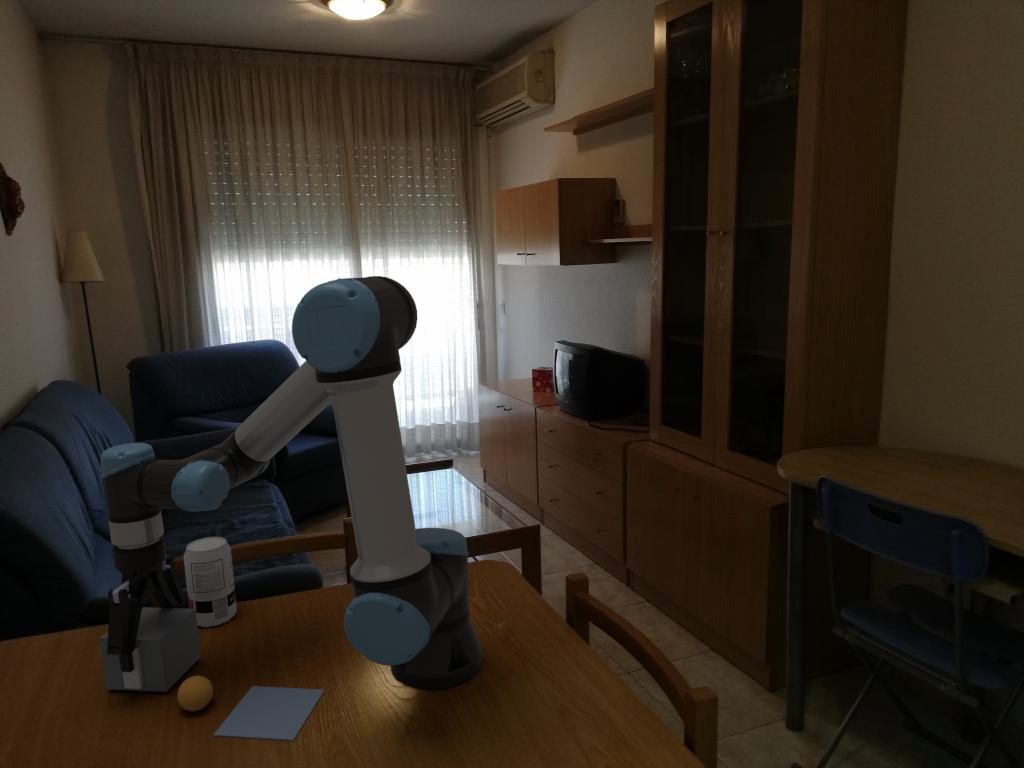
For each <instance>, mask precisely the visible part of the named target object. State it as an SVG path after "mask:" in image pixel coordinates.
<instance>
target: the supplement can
mask: <svg viewBox="0 0 1024 768" xmlns="http://www.w3.org/2000/svg"><path fill="white" fill-rule="evenodd" d="M183 563H184V565H183V566H184V574H185V584H186V593H187V601H188V609H195V610H196V618H197V627H199V626H201V627H200V628H213V627H212V626H214V627H218V626H221V625H223V624H222V623H224V624H226V623H227V621H228V622H229V621H231V620H232V619H233V618H234V616H235V615H236V614H237V611H238V607H237V597H236V596H237V595H236V587H235V578H234V567H233V556H232V547H231V546H230V545H229V543H228V541H227V540H226V538H224V537H222V536H207V537H203V538H199V539H195V540H193V541H191V542H188V544H186V547H185V551H184V554H183ZM232 617H233V618H232ZM231 618H232V619H231ZM230 619H231V620H230ZM225 622H226V623H225ZM220 624H221V625H220ZM217 625H218V626H217ZM210 626H211V627H210Z"/></svg>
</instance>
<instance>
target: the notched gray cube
mask: <svg viewBox="0 0 1024 768" xmlns="http://www.w3.org/2000/svg"><path fill="white" fill-rule="evenodd" d="M198 627H199V626H197V618H196V610H195V609H189V608H161V607H148V606H147V607H146V606H144V607H143V608H142V612H141V617H140V622H139V627H138V632H137V637H136V642H135V647H134V648H139V656H140V663H141V671H142V678H143V685H144V686H143V687H142V688H141V689H132V688H125V686H124V679H123V672H122V671H121V668H120V667H121V666H120V661H119V655H108V654H107V640H108V631H107V632H105V633H104V634H103V635H101V636H100V637H99V640H98V641H99V647H100V655H101V658H102V659H101V660H102V661H101V662H102V667H103V675H104V681H105V687H106V688H105V689H106V690H115V691H116V690H117V691H140V692H163V693H164V692H165V693H167V692H168V691H169V690H170V689H171V688H172V687H173V686H174V685H175V684H176V683H177V682H178V681H179V679H181V677H182V676H183V675H185V674H186V672H187V671H189V670H190V669H191V668H192V667H193V666H194V664H195V663H197V661H199V659H200V658H201V657H202V652H201V644H200V636H199V629H198ZM127 644H128V643H127Z"/></svg>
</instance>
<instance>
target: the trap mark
mask: <svg viewBox="0 0 1024 768" xmlns="http://www.w3.org/2000/svg"><path fill="white" fill-rule="evenodd" d="M325 690H326V689H318V688H317V689H316V688H314V689H312V688H297V687H279V686H278V687H276V686H259V685H252V686H251V687H250V688H249V690H248V691H246V693H245V695H244V696H243V697H242V699H240V700H239V702H238V704H237V705H236V706H235V707H234V708H233V710H232V711H231V712H230V713H229V715H228V716H227V717H226V719H225V720H224V721H223V722H222V724H221V725H220V726H219V727H218V728H217V730H216V731H215V732H214V733H213V737H223V738H224V737H225V738H239V739H240V738H241V739H256V740H257V739H258V740H270V741H271V740H272V741H273V740H274V741H286V742H287V741H288V742H294V741H295V739H296V737H297V736H298V735H299V733H300V731H301V730H302V728H303V727H304V725H305V724H306V721H307V719H308V718H309V717H310V715H311V714H312V712H313V710H314V709H315V707H316V705H317V704H318V702H319V701H320V699H321V697H322V696H323V694H324V693H325Z"/></svg>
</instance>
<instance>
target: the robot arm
mask: <svg viewBox="0 0 1024 768" xmlns="http://www.w3.org/2000/svg"><path fill="white" fill-rule="evenodd" d="M303 295H304V296H303V297H302V298H301V299H300V301H299V302H298V303H297V305H296V307H295V310H294V313H293V316H292V322H291V334H292V340H293V344H294V347H295V349H296V350H297V352H298V354H299V355H300V357H301V358H302V359H304V360H305V361H304V362H303V363H302V364H301V365H300V366H299V367H297V369H296V370H295V371H294V372H292V374H291V375H289V377H288V378H287V379H286V380H285V381H284V382H283V383H281V385H280V386H279V387H278V388H277V389H276V390H274V392H273V393H271V394H270V395H269V396H268V397H267V399H266V400H264V401H263V402H262V403H261V404H260V405H259V406H258V407H257V408H256V409H255V410H254V411H253V412H252V413H251V414H250V415H249V416H248V417H247V418H246V419H245V420H244V421H243V422H242V423H241V424H240V425H239V426H238V427H237V428H236V429H235V430H234V431H233V432H232V433H231V434H230V435H228V437H227V438H226V439H224V440H223V441H222V442H221V443H220V444H216V445H215V446H213V447H210V448H208V449H205V450H203V451H200V452H198V453H196V454H193V455H191V456H188V457H186V458H183V459H159V458H156V454H155V453H154V448H153V447H152V445H151V444H149V443H146V442H132V443H123V444H118V445H114V446H112V447H108V448H107V449H105V450H103V451H102V453H101V454H100V473H101V474H100V479H101V481H102V486H103V487H102V488H103V492H104V501H105V509H106V513H107V519H108V525H109V534H110V542H111V544H112V545H113V546H112V548H111V551H112V553H111V554H112V558H113V566H114V568H115V570H117V571H118V572H119V573H120V574H121V581H120V585H119V586H118V587H117V588H110V589H109V590H108V592H107V598H108V602H109V612H108V613H109V614H108V627H107V629H108V630H107V632H108V640H107V654H108V655H119V661H120V666H121V667H120V668H121V671H122V672H123V679H124V686H125V688H132V689H141V688H142V687H143V686H144V685H143V678H142V671H141V663H140V656H139V648H134V647H135V642H136V637H137V632H138V627H139V622H140V617H141V612H142V608H143V607H146V605H147V601H148V598H149V597H150V596H152V597H153V598H154V600H155V602H156V603H157V604H158V606H159V608H185V607H186V606H185V604H186V601H187V598H186V595H185V593H184V589H183V588H182V584H181V581H180V579H179V576H178V573H177V570H176V567H175V557H174V555H167V550H166V542H165V540H166V539H165V538H164V536H163V535H164V533H165V531H164V522H163V517H162V511H161V509H166V510H179V511H185V512H186V511H187V512H195V513H196V512H197V513H198V512H209V511H214V510H216V509H218V508H219V507H220V506H221V505H223V501H224V500H226V499H227V497H228V495H229V491H230V490H231V489H233V488H235V487H237V486H239V485H241V484H243V483H245V482H248V481H251V480H254V479H255V478H256V477H257V476H259V475H260V474H261V473H263V472H265V471H266V470H267V468H268V466H270V462H271V459H272V458H273V457H274V456H275V455H277V453H278V452H279V451H281V450H282V449H283V448H284V447H285V446H286V445H287V444H288V443H289V442H290V441H291V440H292V439H294V437H296V436H297V435H298V434H299V433H300V432H301V431H302V430H303V429H304V428H305V427H306V426H307V425H309V424H310V423H311V422H312V421H313V420H314V419H315V418H316V417H317V416H318V415H319V414H320V413H321V412H322V411H324V410H325V408H327V407H328V406H329V405H330V404H331V405H332V411H333V415H334V422H335V428H336V433H337V438H338V443H339V444H338V445H339V450H340V457H341V461H342V462H341V463H342V468H343V473H344V481H345V486H346V492H347V497H348V504H349V509H350V515H351V521H352V527H353V532H354V537H355V538H354V540H355V546H356V550H357V556H358V557H357V559H356V560H355V561H354V563H353V564H352V565H351V566H350V569H349V574H350V579H351V586H352V592H353V599H352V600H351V602H350V603H349V604H348V606H347V607H346V611H345V613H344V617H343V629H344V633H345V635H346V637H347V640H348V641H349V643H350V645H351V646H352V647H353V648H354V650H356V652H357V653H359V654H361V655H363V656H364V657H365V658H366V659H367V660H368V661H370V662H373V663H376V664H379V665H382V666H390V672H391V674H392V676H393V677H394V679H395V680H396V681H398V682H399V683H401V684H403V685H404V686H407V687H410V688H413V689H418V690H427V691H429V690H432V691H433V690H442V689H443V690H444V689H448V688H452V687H455V686H458V685H460V684H462V683H465V682H467V681H468V680H470V679H471V678H473V677H474V676H475V675H476V674H477V673H478V671H479V670H480V668H481V666H482V664H483V663H482V646H481V643H480V640H479V639H478V635H477V633H476V631H475V628H474V625H473V623H472V620H471V617H470V593H469V592H470V590H469V589H470V588H469V551H468V546H467V545H468V544H467V539H466V537H465V535H464V534H462V533H461V532H459V531H456V530H454V529H450V528H444V527H443V528H441V527H421V528H416V524H415V516H414V509H413V504H412V498H411V489H410V484H409V478H408V473H407V472H408V471H407V467H406V460H405V454H404V453H405V452H404V447H403V441H402V440H403V439H402V433H401V426H400V422H399V415H398V410H397V402H396V396H395V389H394V384H395V381H396V380H397V378H398V377H399V375H400V374H401V372H403V370H402V364H401V357H400V351H399V350H401V349H402V348H404V346H406V345H407V343H409V341H410V340H411V339H412V337H413V335H414V333H415V331H416V328H417V325H418V324H417V323H418V309H417V304H416V302H415V299H414V297H413V296H412V295H411V293H410V291H409V290H408V289H407V288H406V287H405V286H404V285H403V284H401V283H400V282H398V281H397V280H395V279H393V278H391V277H387V276H381V275H374V276H373V275H372V276H366V277H346V278H341V277H339V278H337V279H333V280H329V281H325V282H322V283H320V284H317V285H316V286H313V287H312V288H311V289H309V290H308V291H307V292H306V293H305V294H303ZM131 599H132V600H131ZM127 643H128V644H127Z"/></svg>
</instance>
